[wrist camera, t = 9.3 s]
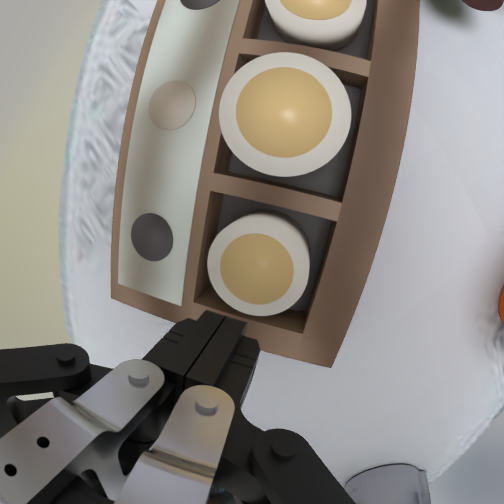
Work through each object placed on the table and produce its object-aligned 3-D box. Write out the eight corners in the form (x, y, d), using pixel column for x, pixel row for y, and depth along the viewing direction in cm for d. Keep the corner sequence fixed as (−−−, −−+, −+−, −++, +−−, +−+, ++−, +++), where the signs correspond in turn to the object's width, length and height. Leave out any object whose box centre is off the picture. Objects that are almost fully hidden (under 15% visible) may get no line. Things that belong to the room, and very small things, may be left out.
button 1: (364, -5, 12) (369, -30, 9) (355, 60, 14) (361, 41, 11) (280, -19, 13) (273, -45, 10) (264, 44, 15) (254, 23, 12)
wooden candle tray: (409, -12, 12) (419, -35, 9) (330, 342, 20) (331, 370, 17) (196, -37, 14) (180, -58, 11) (132, 283, 23) (109, 299, 20)
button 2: (320, 222, 18) (321, 234, 15) (297, 304, 19) (293, 328, 16) (231, 200, 18) (215, 207, 15) (217, 281, 20) (200, 301, 17)
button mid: (353, 84, 13) (361, 66, 10) (332, 186, 15) (335, 191, 12) (248, 65, 14) (232, 44, 11) (227, 162, 15) (206, 162, 12)
